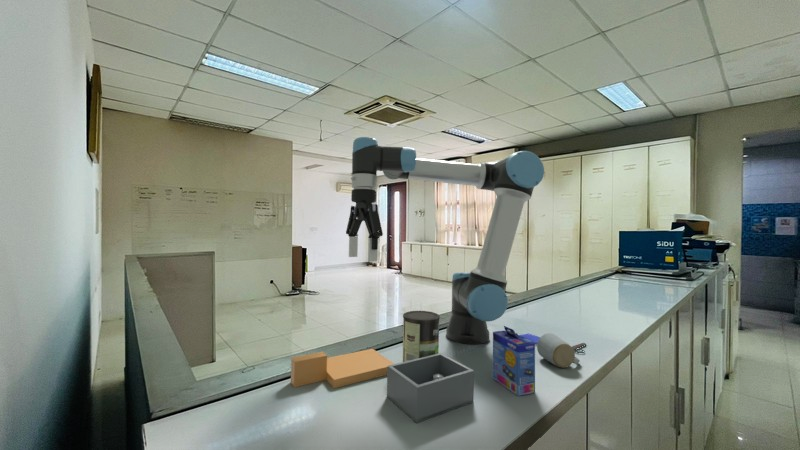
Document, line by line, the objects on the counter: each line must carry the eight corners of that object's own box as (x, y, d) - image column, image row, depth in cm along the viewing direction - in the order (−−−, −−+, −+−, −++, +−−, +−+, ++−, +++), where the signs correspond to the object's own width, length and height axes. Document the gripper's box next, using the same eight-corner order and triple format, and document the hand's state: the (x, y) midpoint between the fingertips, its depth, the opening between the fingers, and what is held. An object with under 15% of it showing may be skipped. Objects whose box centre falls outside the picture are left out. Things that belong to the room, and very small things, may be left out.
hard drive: (528, 332, 119) (503, 337, 114) (547, 339, 112) (522, 345, 106) (528, 337, 119) (503, 342, 114) (547, 344, 112) (522, 350, 106)
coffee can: (439, 359, 95) (441, 311, 96) (436, 375, 85) (438, 321, 85) (405, 356, 97) (406, 309, 98) (398, 370, 87) (399, 318, 88)
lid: (372, 355, 97) (372, 335, 98) (395, 372, 86) (396, 349, 86) (285, 374, 84) (286, 350, 84) (299, 397, 73) (300, 370, 73)
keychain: (600, 349, 109) (600, 344, 109) (571, 360, 99) (571, 354, 99) (577, 342, 115) (577, 337, 115) (547, 352, 105) (547, 346, 105)
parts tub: (440, 380, 82) (440, 353, 82) (473, 402, 72) (474, 370, 72) (386, 396, 74) (387, 365, 74) (416, 423, 64) (417, 387, 64)
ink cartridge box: (490, 378, 84) (491, 322, 84) (507, 375, 86) (509, 320, 86) (517, 397, 75) (518, 334, 75) (535, 393, 77) (537, 332, 77)
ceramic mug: (553, 370, 90) (554, 342, 90) (535, 358, 98) (536, 332, 98) (586, 368, 92) (587, 341, 92) (566, 357, 100) (567, 332, 100)
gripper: (337, 191, 108) (335, 255, 108) (372, 184, 87) (370, 263, 87) (357, 193, 112) (356, 255, 112) (395, 186, 91) (394, 262, 91)
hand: (362, 258), depth 99 cm, fingers open, 13 cm apart
